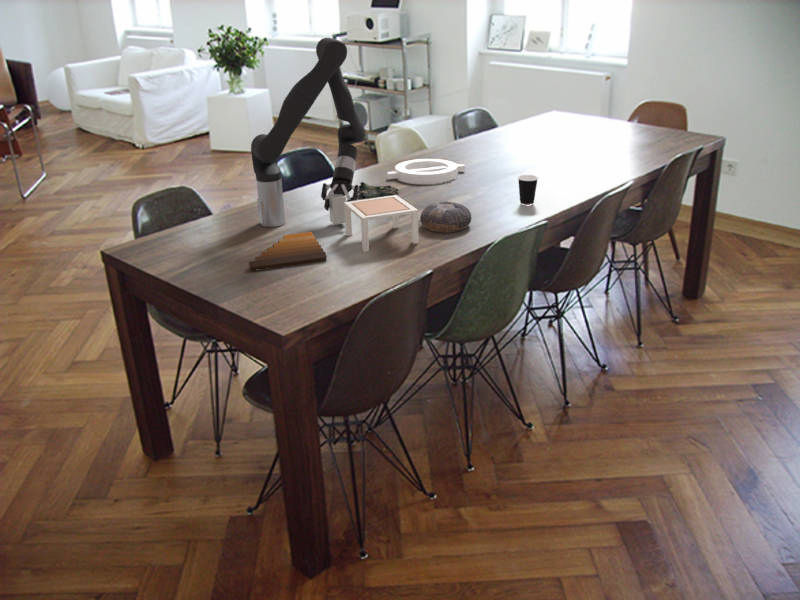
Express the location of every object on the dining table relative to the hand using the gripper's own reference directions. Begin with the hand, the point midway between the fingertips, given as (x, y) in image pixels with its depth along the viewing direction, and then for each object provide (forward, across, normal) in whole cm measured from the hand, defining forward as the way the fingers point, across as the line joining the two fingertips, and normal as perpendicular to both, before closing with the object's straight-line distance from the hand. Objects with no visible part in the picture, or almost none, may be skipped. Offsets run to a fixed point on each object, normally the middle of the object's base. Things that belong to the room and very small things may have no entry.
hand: (336, 210), depth 286 cm
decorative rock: (-25, +5, +35) cm, 43 cm away
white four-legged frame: (+12, +20, -3) cm, 23 cm away
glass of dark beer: (-22, +67, +30) cm, 77 cm away
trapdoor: (+4, +20, -11) cm, 23 cm away
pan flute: (+27, -10, -17) cm, 33 cm away
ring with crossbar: (-47, +19, +57) cm, 77 cm away
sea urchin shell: (0, +40, +8) cm, 41 cm away
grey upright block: (+3, 0, +5) cm, 5 cm away
